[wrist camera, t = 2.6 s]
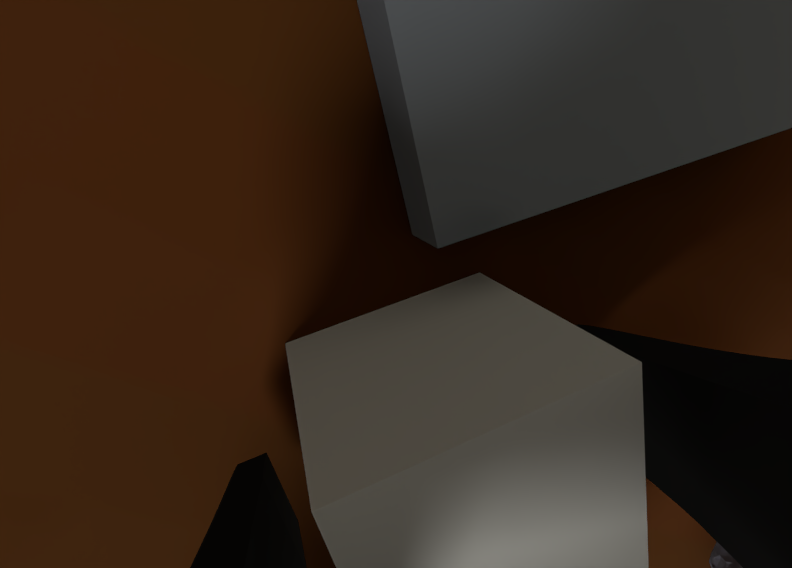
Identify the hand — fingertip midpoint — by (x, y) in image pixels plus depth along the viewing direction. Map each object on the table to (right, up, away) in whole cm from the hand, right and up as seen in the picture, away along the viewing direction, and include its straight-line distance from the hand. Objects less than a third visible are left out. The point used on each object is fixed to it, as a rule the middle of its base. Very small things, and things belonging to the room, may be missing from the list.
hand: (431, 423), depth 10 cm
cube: (0, 0, +1) cm, 2 cm away
